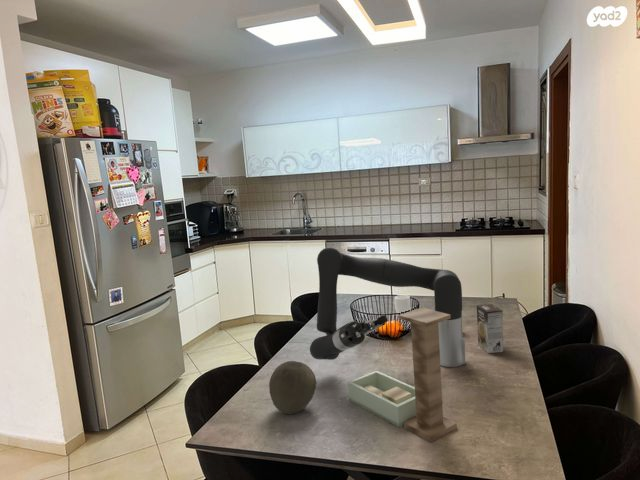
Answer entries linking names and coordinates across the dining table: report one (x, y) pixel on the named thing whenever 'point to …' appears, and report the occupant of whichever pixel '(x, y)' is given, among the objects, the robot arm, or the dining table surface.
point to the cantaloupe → (292, 386)
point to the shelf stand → (427, 375)
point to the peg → (391, 394)
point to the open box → (378, 403)
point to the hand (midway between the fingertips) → (375, 321)
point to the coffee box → (490, 328)
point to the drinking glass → (402, 303)
